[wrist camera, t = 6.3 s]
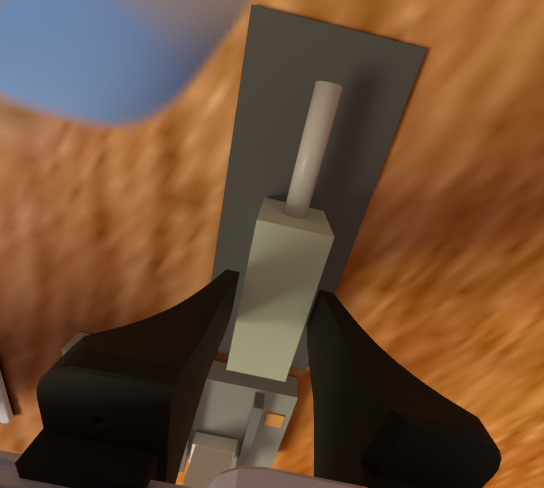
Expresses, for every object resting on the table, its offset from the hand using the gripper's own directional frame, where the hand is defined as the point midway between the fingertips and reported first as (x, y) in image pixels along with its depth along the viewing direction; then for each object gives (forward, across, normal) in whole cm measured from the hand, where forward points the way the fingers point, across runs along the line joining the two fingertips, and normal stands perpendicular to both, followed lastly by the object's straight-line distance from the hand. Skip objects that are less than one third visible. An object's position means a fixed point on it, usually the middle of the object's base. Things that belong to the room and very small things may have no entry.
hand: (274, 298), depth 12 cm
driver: (+3, 0, -2) cm, 4 cm away
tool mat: (+3, 0, -2) cm, 4 cm away
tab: (+1, +1, +14) cm, 15 cm away
